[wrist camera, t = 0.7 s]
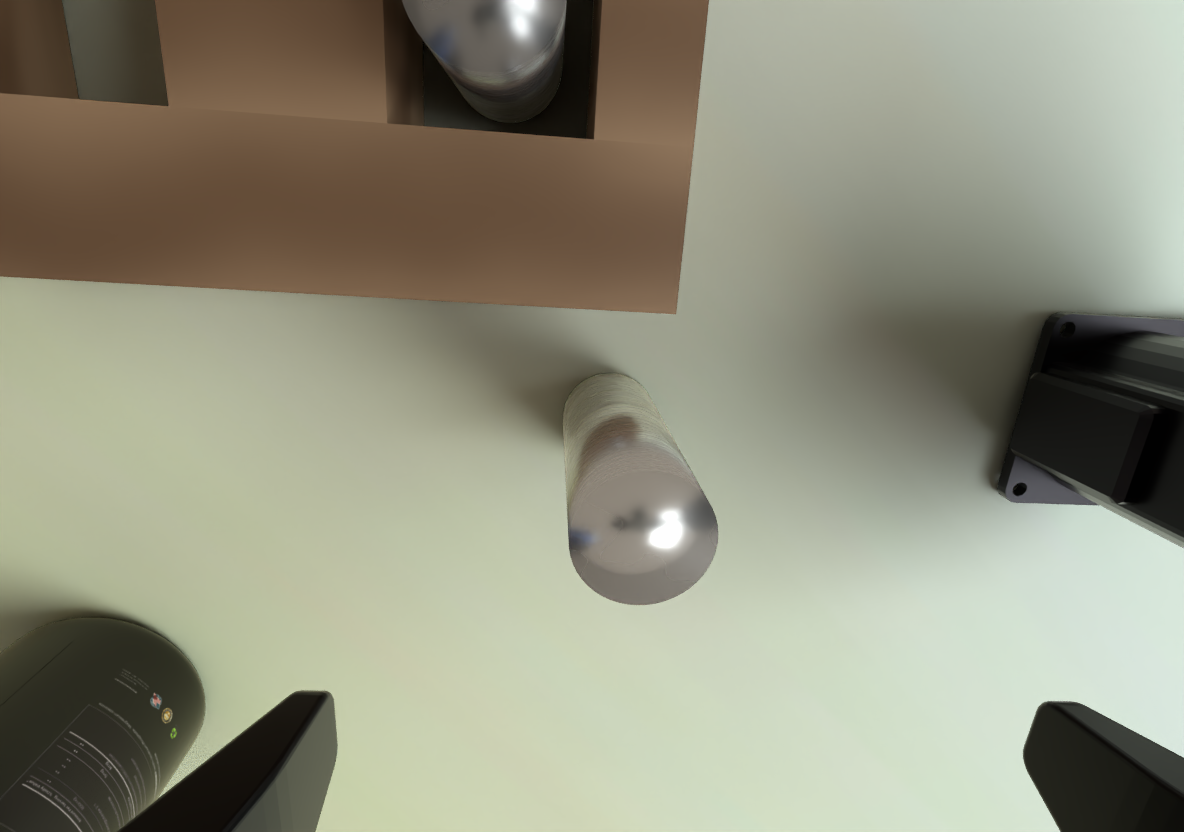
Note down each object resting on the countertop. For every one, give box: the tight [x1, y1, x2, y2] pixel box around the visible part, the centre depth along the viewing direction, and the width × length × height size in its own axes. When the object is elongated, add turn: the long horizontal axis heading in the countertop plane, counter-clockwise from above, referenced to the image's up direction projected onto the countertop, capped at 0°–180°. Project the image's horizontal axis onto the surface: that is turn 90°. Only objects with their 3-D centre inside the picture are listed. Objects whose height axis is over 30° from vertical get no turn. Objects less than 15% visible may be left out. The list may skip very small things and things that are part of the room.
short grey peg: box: [402, 0, 567, 123], centre depth 14 cm, size 3×3×6 cm
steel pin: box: [563, 373, 718, 605], centre depth 16 cm, size 3×3×8 cm
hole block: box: [0, 0, 709, 314], centre depth 14 cm, size 12×18×4 cm, turn 86°
